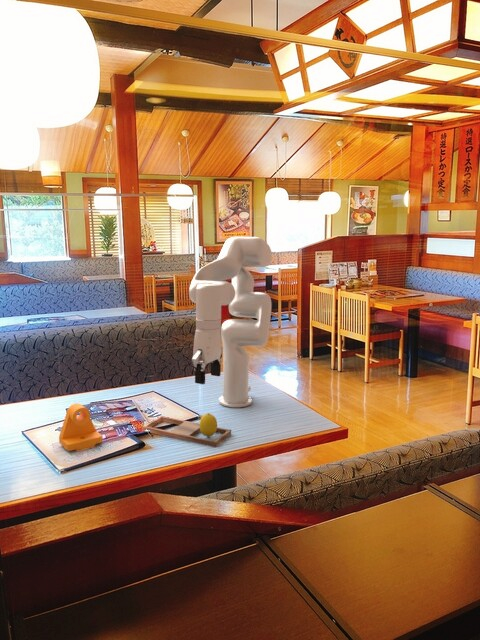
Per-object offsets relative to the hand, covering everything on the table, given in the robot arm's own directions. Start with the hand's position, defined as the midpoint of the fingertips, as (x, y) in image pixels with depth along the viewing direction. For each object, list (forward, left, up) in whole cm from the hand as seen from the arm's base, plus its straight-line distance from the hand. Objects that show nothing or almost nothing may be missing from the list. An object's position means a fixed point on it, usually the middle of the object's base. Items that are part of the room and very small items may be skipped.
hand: (208, 379), depth 157 cm
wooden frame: (0, -8, -19) cm, 21 cm away
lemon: (0, 0, -19) cm, 19 cm away
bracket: (+22, -31, -19) cm, 43 cm away
